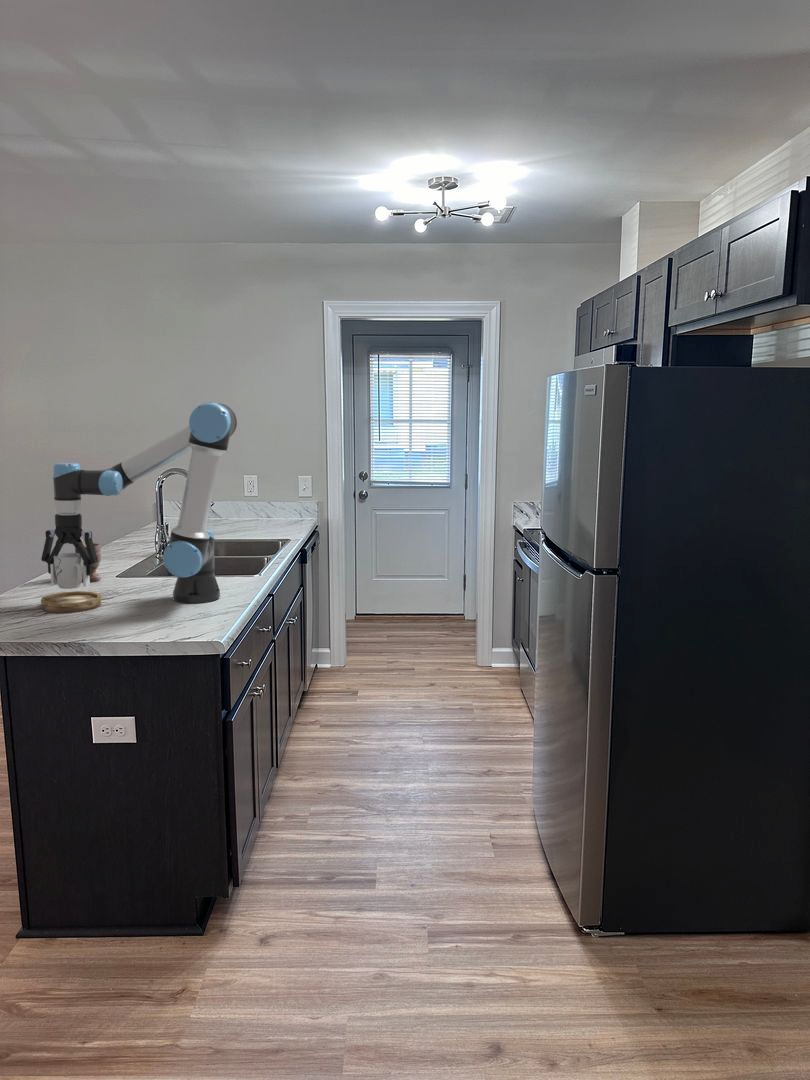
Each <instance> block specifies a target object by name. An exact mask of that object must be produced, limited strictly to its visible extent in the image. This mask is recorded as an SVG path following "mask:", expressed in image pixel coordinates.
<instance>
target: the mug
mask: <svg viewBox="0 0 810 1080" xmlns="http://www.w3.org/2000/svg"><path fill="white" fill-rule="evenodd" d="M54 566H55V573H56V578H57V582H58V583H57V586H58V588H60V589H63V590H73V589H78V588H80V587H81V585H82V584H83V582H82V575H83V559H82V558H81V556H80V554H79V553H75V552H64V553H59V554H58V556H57V557H55V556H54Z"/></svg>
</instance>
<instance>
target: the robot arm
mask: <svg viewBox="0 0 810 1080" xmlns="http://www.w3.org/2000/svg"><path fill="white" fill-rule="evenodd" d="M237 419H238V418H237V416H236V413H235V412H234V411H233V409H232V408H230V407H229V405H226V404H224V403H221V402H220V403H217V402H212V401H208V402H203V403H201V404H200V405H198V406H196V407H195V408H194V409H193V410H192V411H191V413H190V416H189V419H188V420H189V421H188V426H185V427H183V428H181V429H180V430H177V431H176V432H175V433H173V434H170V435H169V436H167V437H165V438H163V439H161V440H160V441H158V442H156V443H154V444H152V445H151V446H149V447H147V448H145V449H142V450H141V451H139V452H137V453H135V454H134V455H132V456H130V457H127V459H125V460H123V461H121V462H118V463H117V464H115V465H113V466H112V467H109V468H105V469H100V470H97V469H95V470H93V469H91V470H90V469H89V470H88V469H87V470H86V469H81V464H80V463H77V462H58V463H55V464H54V466H53V476H52V480H53V481H52V482H53V494H54V495H53V496H54V498H53V499H54V500H53V501H54V513H55V514H54V525H55V529H54V530H53V529H49V530H46V531H45V534H44V535H45V541H44V545H43V550H42V554H41V558H40V559H41V562H45V563H47V570H48V571H47V572H48V574H49V575H50V585H51V586H54V585H58V582H57V578H56V573H55V566H54V556H55V557H57V556H58V554H60V552H61V550H62V548H63V546H64V545H66V544H69V545H72V546H74V548H75V547H76V549H77V550H78V552H79V554H80V556H81V558H82V559H83V561H84V563H85V565H83V582H82V584H83V587H88V586H91V582H90V575H92V564H94V563H96V562H98V558H97V555H96V551H95V548H94V544H93V543H94V541H93V532H92V531H91V530H90V531H84V530H83V529H82V528H83V527H82V525H83V521H82V520H83V519H82V518H83V517H82V514H81V513H82V495H84V496H85V495H90V496H106V497H109V496H119V494H121V492H122V491H123V490H125V489H126V488H127V487H129V486H130V485H132V484H134V483H135V482H137V481H140V480H141V479H143V478H145V477H147V476H149V475H150V474H152V473H154V472H156V471H158V470H159V469H162V468H163V467H165V466H167V465H169V464H171V463H173V462H176V461H177V460H178V459H180V458H183V457H185V456H186V455H187V454H189V453H191V454H190V460H189V465H188V471H187V475H186V481H185V486H184V490H183V496H182V501H181V507H180V513H179V516H178V520H177V521H178V522H177V525H175V526H174V527H173V528H172V529H171V531H170V536H169V541H168V544H167V546H166V547H165V549H164V551H163V555H162V561H163V564H164V567H165V568H166V570H167V571H168V573H170V574H171V575H173V576H175V577H176V580H175V585H174V588H173V590H172V599H173V600H174V601H175V602H179V603H187V604H198V603H199V604H200V603H208V602H209V601H210V602H214V601H217V600H219V599H220V598H221V590H220V587H219V584H218V582H217V581H218V580H217V577H216V576H215V540H216V539H215V535H214V531H212V530H211V529H207V526H208V521H209V517H210V513H211V512H210V511H211V506H212V501H213V498H214V491H215V486H216V482H217V475H218V472H219V466H220V461H221V457H222V455H223V454H225V453H226V452H227V451H228V447H229V443H230V437H231V436H232V435H234V433H235V432H236V430H237V426H238V420H237ZM55 536H56V537H57V539H56V541H55V545H54V547H53V543H54V540H55V539H54V538H55ZM82 536H83V537H82ZM80 537H81V538H80ZM81 539H82V540H81ZM83 540H84V541H83ZM82 541H83V542H84V544H86V547H87V551H88V553H87V551H86V549H85V547H84V546H83V542H82ZM52 547H53V549H52ZM88 554H89V555H88ZM219 597H220V598H219ZM218 598H219V599H218ZM216 599H217V600H216ZM213 600H214V601H213ZM210 602H209V603H210Z"/></svg>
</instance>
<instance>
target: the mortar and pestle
mask: <svg viewBox="0 0 810 1080" xmlns="http://www.w3.org/2000/svg"><path fill="white" fill-rule="evenodd" d="M80 538H81V540H82V542H83V546H84V547H85V549H86V551H87V547H86V544H85V541H83V538H82V536H81V537H80ZM93 544H94V548H95V551H96V555H97V558H98V562H96V563H94V564H92V575H90V583H93V582H99V581H100V580H102V579H101V575H100V574H99V573H97V569H98V568H99V566H100V563H101V561H102V560H101V559H102V551H101V549H102V543H99V542H98V543H96V542H93ZM74 551H75V552H74V553H79V552H78V550H77V549H76V547H75V546H74ZM87 553H88V551H87ZM88 555H89V554H88ZM83 565H85V563H84V561H83ZM82 583H83V575H82Z"/></svg>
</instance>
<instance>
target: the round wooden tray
mask: <svg viewBox="0 0 810 1080" xmlns="http://www.w3.org/2000/svg"><path fill="white" fill-rule="evenodd" d="M40 604H41V610H42V611H45V612H48V613H53V614H55V613H56V614H70V613H71V614H72V613H83V612H88V611H92V610H95V609H98V608H99V607H101V606H102V593H98V592H95V591H85V590H84V591H82V590H78V591H77V590H76V591H63V592H62V591H61V592H56V593H51V594H47V595H44V596H42V597H41V599H40Z"/></svg>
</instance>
